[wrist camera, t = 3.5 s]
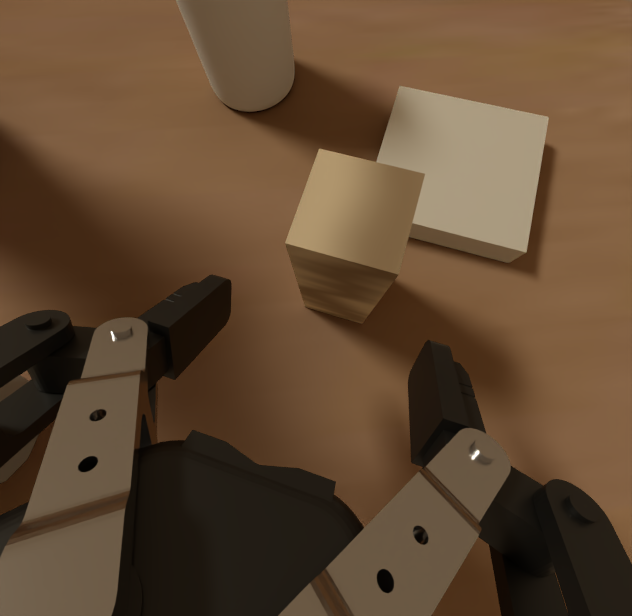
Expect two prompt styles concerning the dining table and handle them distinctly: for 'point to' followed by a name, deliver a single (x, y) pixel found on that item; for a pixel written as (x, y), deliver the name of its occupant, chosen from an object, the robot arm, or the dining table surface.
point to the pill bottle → (243, 49)
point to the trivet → (468, 170)
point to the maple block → (351, 232)
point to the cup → (23, 454)
